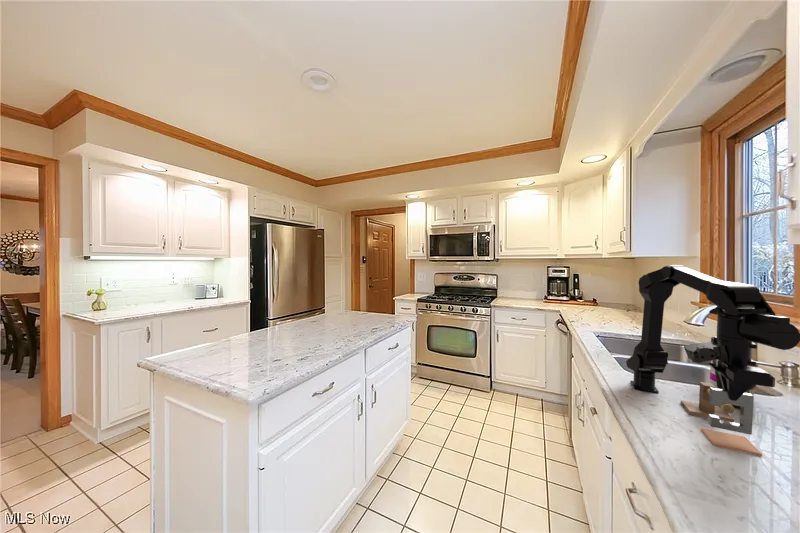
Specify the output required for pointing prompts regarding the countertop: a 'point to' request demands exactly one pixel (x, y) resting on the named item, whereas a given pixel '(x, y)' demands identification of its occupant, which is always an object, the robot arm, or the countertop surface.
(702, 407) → the stand
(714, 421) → the link
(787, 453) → the countertop surface
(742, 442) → the mat
